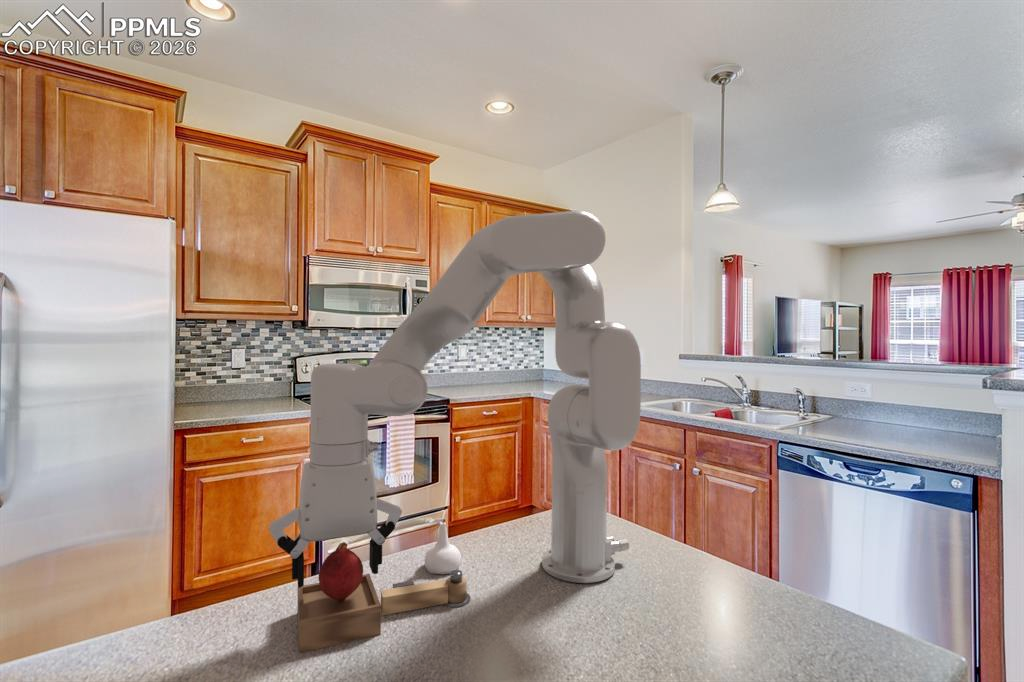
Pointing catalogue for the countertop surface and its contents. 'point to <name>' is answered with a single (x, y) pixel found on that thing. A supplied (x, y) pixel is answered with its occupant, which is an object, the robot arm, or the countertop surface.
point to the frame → (454, 578)
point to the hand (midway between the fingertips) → (338, 576)
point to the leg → (422, 595)
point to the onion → (340, 573)
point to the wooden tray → (337, 616)
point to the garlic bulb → (442, 554)
